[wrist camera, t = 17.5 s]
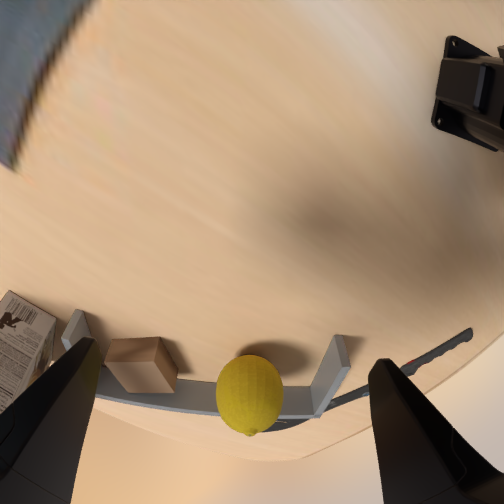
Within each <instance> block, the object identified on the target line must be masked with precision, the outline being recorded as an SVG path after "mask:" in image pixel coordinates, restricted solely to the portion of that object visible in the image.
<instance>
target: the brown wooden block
mask: <svg viewBox="0 0 504 504" xmlns="http://www.w3.org/2000/svg"><path fill="white" fill-rule="evenodd" d="M104 363H105V364H106V366H107V367H108V368H109V370H110V371H111V372H112V373H113V375H114V376H115V377H116V378H117V380H118V381H119V382H120V383H121V385H122V386H123V387H124V388H125V389H126V391H127V392H128V393H175V387H176V380H177V374H178V368H177V367H176V365H175V363H174V361H173V360H172V358H171V356H170V354H169V353H168V351H167V349H166V347H165V345H164V344H163V342H162V340H161V338H160V337H146V338H128V339H112V341H111V344H110V347H109V349H108V352H107V355H106V358H105V361H104Z"/></svg>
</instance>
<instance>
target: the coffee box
mask: <svg viewBox="0 0 504 504" xmlns="http://www.w3.org/2000/svg"><path fill="white" fill-rule="evenodd" d="M55 327H56V318H55V317H53V316H51V315H50V314H48V313H46V312H44V311H43V310H41V309H39V308H37V307H36V306H34V305H32V304H30V303H29V302H27V301H25V300H24V299H22V298H21V297H19V296H17V295H16V294H14V293H13V292H11V291H8V292H7V293H6V294H5V296H4V297H3V298H2V300H1V301H0V413H1V412H3V411H4V410H5V409H6V408H7V407H8V406H9V405H10V404H11V403H13V401H14V400H15V399H16V398H17V397H18V396H19V395H20V394H21V393H22V392H23V391H24V390H26V389H27V388H28V387H29V386H30V385H31V384H32V383H33V382H34V381H35V380H36V379H37V378H38V377H39V376H40V375H41V374H42V373H44V372H45V371H46V370H47V369H48V368H49V365H50V363H51V361H52V351H53V342H54V334H55Z"/></svg>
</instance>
